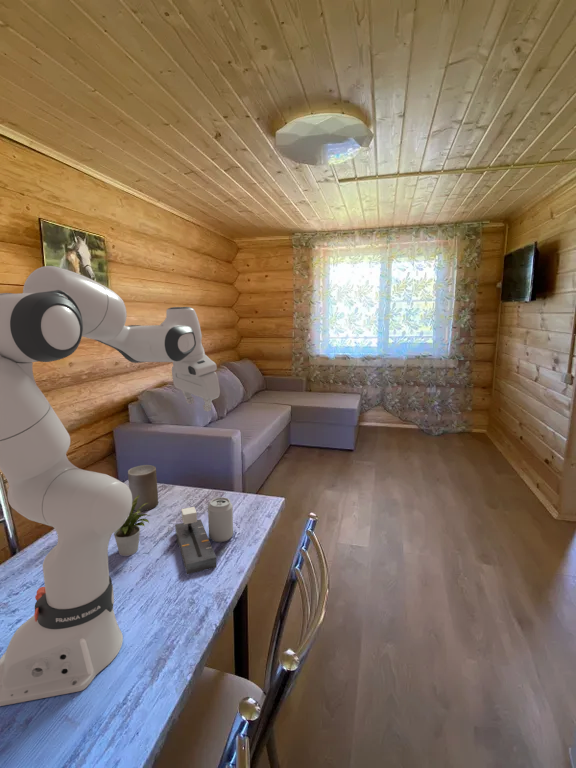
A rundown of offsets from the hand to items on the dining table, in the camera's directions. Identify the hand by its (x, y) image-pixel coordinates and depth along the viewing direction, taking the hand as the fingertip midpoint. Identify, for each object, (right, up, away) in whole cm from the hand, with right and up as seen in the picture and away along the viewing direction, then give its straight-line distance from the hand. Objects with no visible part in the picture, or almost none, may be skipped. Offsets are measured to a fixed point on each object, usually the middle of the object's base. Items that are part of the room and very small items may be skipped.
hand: (198, 406), depth 114 cm
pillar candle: (-26, -38, +26) cm, 53 cm away
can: (+6, -41, +5) cm, 42 cm away
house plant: (-21, -43, -3) cm, 48 cm away
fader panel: (-1, -42, -1) cm, 42 cm away
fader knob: (-4, -38, +6) cm, 38 cm away
